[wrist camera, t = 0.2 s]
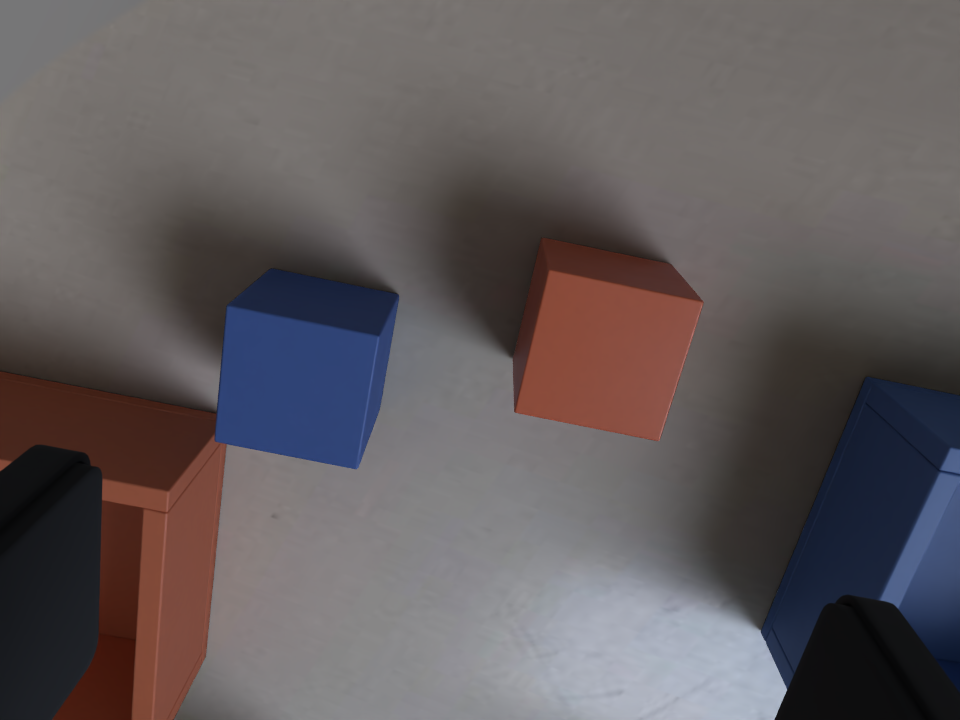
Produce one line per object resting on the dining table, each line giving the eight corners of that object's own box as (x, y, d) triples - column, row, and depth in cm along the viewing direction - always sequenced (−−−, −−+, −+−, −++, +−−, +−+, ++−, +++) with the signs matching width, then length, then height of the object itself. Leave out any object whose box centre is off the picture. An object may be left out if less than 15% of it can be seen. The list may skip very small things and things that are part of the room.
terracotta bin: (-83, 354, 28) (-215, 418, 23) (229, 415, 29) (169, 491, 24) (-67, 606, 33) (-177, 709, 27) (206, 656, 33) (150, 766, 28)
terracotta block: (541, 236, 26) (548, 268, 22) (672, 264, 26) (704, 301, 22) (512, 360, 28) (514, 413, 24) (635, 385, 28) (659, 442, 24)
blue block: (270, 267, 27) (225, 304, 23) (399, 294, 27) (379, 336, 23) (257, 386, 29) (213, 442, 24) (379, 410, 29) (357, 470, 24)
